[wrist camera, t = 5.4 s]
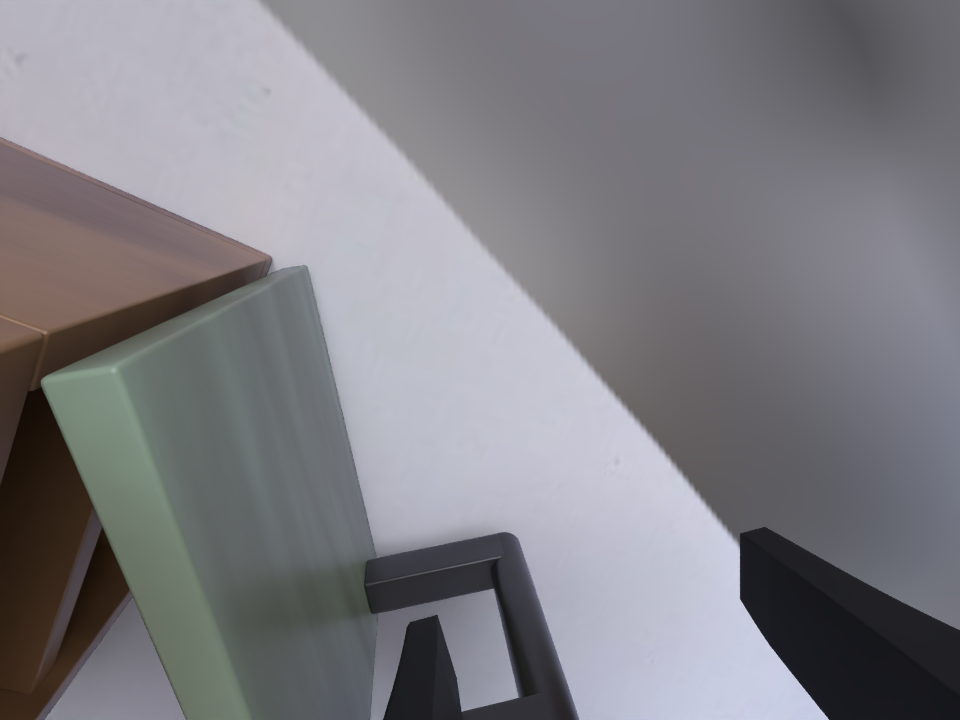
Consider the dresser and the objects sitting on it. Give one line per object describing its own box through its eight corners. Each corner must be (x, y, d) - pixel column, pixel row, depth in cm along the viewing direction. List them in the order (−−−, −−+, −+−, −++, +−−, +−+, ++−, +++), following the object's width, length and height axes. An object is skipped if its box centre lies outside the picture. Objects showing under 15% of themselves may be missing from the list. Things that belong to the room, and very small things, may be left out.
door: (473, 240, 15) (588, 290, 6) (514, 547, 19) (628, 908, 9) (280, 268, 15) (34, 379, 5) (360, 580, 18) (305, 1000, 9)
